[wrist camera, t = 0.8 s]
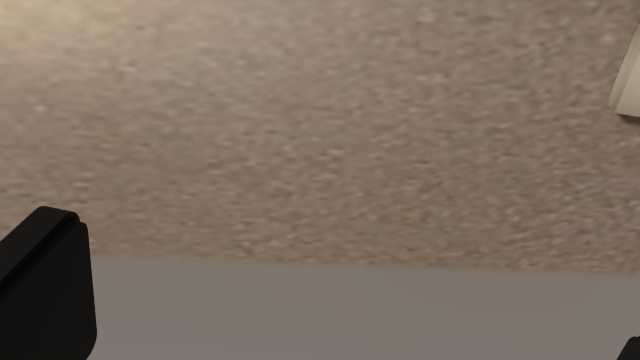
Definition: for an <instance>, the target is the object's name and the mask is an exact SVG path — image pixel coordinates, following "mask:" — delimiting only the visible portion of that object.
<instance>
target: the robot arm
mask: <svg viewBox="0 0 640 360" xmlns="http://www.w3.org/2000/svg"><path fill="white" fill-rule="evenodd" d="M96 337H97V328H96V315H95V305H94V294H93V282H92V271H91V260H90V248H89V237H88V228H87V225H86V224H85V223H83V222H80V219H79V216H78V215H77V213H75V212H71V211H66V210H61V209H57V208H52V207H47V206H41V207H39V208H37V209H36V210H34V211H33V212H32V213H31V214H30V215H29V216H28V217H27V218H26V219H25V220H23V221H22V222H21V223H20V224H19V225H18V226H17V227H16V228H15V229H14V230H12V231H11V232H10V233H9V234H8V235H7V236H6V237H5V238H4V239H3V240H1V241H0V360H86V359H87V358H88V356H89V355H90V353H91V351H92V349H93V347H94V345H95V342H96ZM617 360H640V336H639V337H632V338H630V339H629V340H628V342H627V343H626V345H625V347H624V348H623V350H622V352H621V353H620V355H619V357H618V358H617Z"/></svg>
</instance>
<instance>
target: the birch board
mask: <svg viewBox="0 0 640 360" xmlns="http://www.w3.org/2000/svg"><path fill="white" fill-rule="evenodd" d="M607 104H608V106H609V107H610V108H611V109H612V110H613V111H614V113H618V114H624V115H630V116H637V117H640V20H639V23H638V25H637V28H636V30H635V33H634V35H633V38H632V40H631V43H630V45H629V48H628V50H627V53H626V55H625V58H624V60H623V63H622V65H621V68H620V70H619V73H618V75H617V78H616V80H615V83H614V85H613V88H612V90H611V93H610V95H609V98H608V100H607Z"/></svg>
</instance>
